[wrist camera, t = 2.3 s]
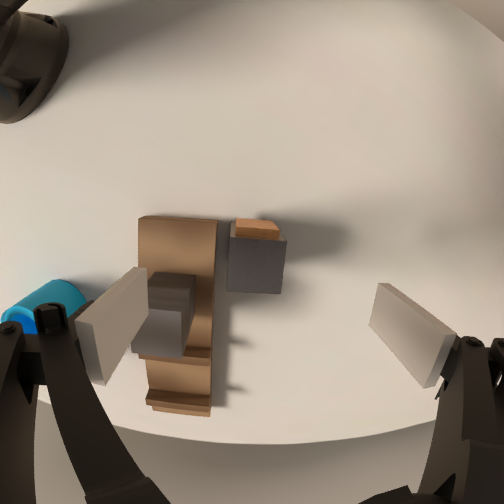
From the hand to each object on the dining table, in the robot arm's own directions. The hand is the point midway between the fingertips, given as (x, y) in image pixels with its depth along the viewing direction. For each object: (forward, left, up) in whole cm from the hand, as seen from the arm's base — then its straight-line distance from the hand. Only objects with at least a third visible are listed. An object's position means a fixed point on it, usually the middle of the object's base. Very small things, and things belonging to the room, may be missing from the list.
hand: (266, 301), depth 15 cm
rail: (+10, -7, -14) cm, 18 cm away
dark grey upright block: (0, 0, -14) cm, 14 cm away
